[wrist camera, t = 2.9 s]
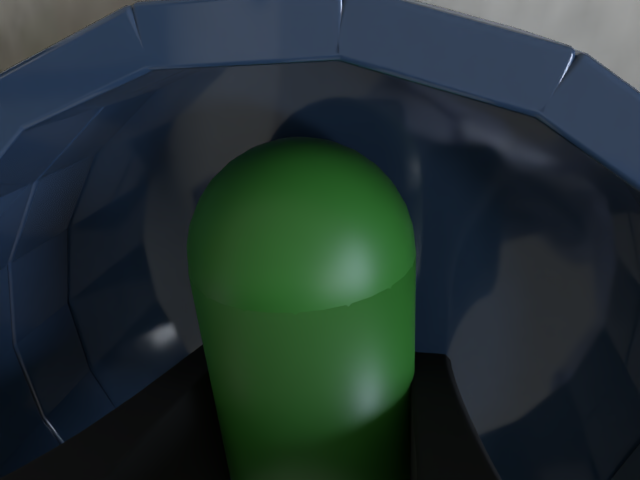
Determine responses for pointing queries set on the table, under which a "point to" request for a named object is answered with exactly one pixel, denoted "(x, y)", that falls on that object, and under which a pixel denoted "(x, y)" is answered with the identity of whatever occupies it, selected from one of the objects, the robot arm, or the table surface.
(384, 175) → the cucumber
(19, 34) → the table surface
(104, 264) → the bowl
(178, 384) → the robot arm
